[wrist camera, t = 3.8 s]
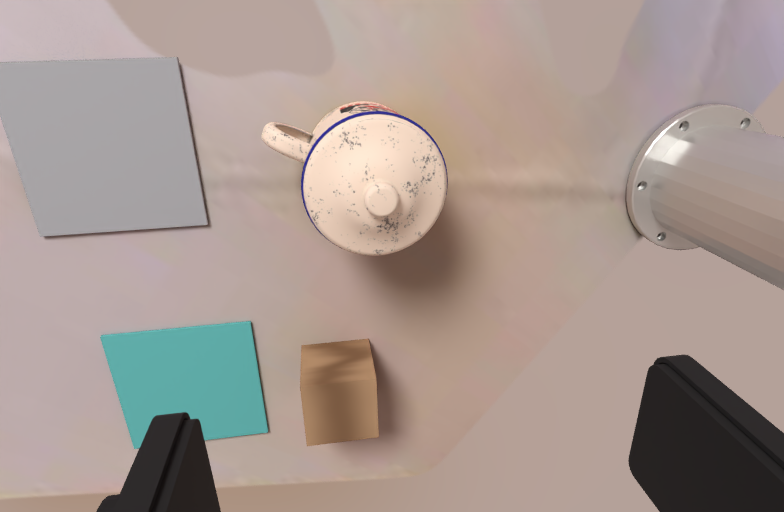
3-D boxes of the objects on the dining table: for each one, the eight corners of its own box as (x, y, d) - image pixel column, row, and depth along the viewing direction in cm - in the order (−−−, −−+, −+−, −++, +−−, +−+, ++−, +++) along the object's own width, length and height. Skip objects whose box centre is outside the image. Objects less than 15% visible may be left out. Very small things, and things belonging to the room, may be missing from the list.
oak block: (368, 338, 45) (376, 378, 39) (371, 391, 47) (378, 437, 42) (301, 345, 44) (300, 387, 38) (307, 399, 46) (306, 446, 41)
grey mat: (178, 57, 34) (176, 57, 33) (208, 223, 38) (207, 224, 38) (-15, 62, 32) (-18, 62, 32) (42, 235, 37) (40, 236, 37)
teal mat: (250, 321, 42) (250, 322, 42) (268, 430, 47) (267, 432, 47) (101, 335, 41) (100, 337, 40) (135, 446, 45) (134, 448, 45)
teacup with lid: (440, 127, 38) (489, 159, 28) (391, 230, 41) (419, 295, 30) (291, 58, 35) (282, 63, 24) (249, 175, 37) (224, 226, 27)
